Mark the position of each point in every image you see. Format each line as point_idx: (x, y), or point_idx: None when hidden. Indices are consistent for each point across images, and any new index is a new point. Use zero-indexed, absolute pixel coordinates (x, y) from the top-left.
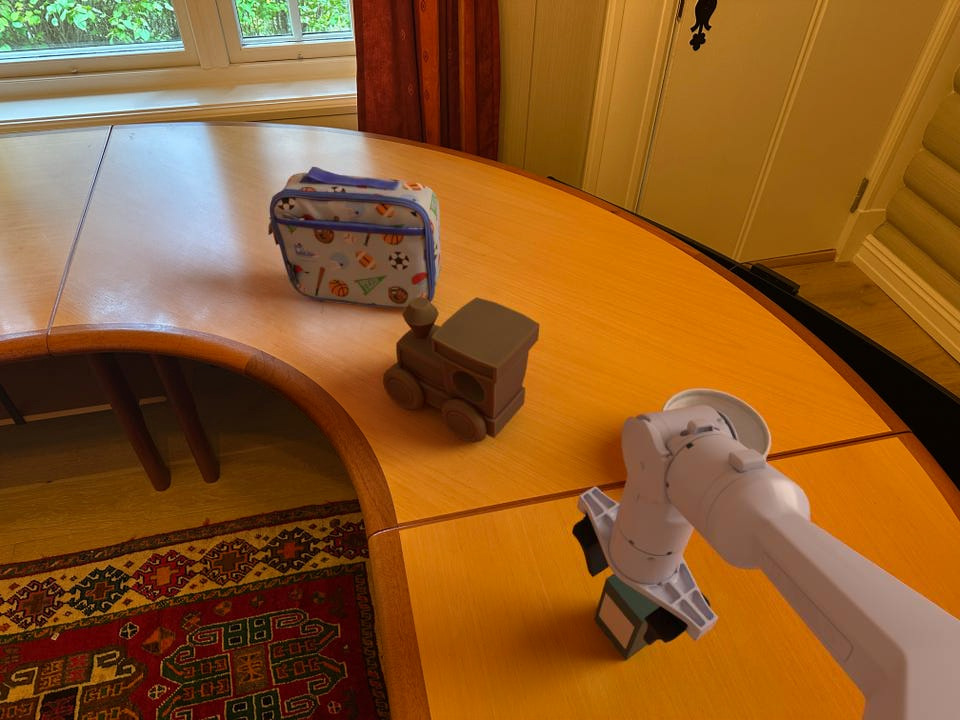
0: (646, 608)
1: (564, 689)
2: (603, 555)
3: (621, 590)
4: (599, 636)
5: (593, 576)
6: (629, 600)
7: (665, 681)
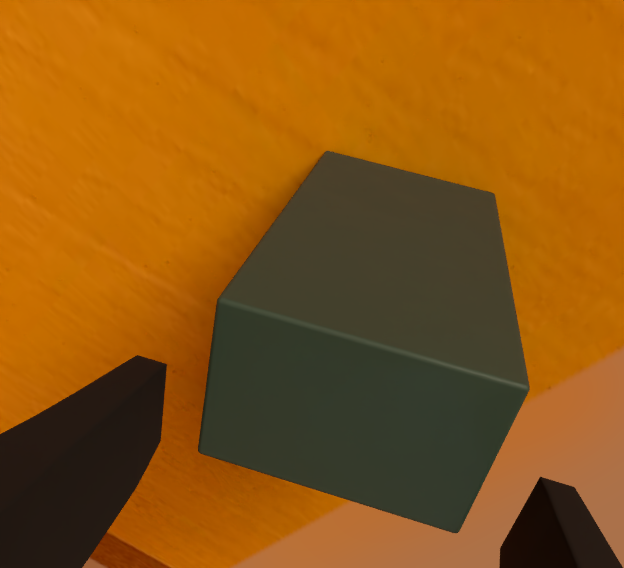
0: (437, 473)
1: None
2: (66, 527)
3: (286, 464)
4: None
5: (158, 442)
6: (347, 484)
7: (598, 270)
